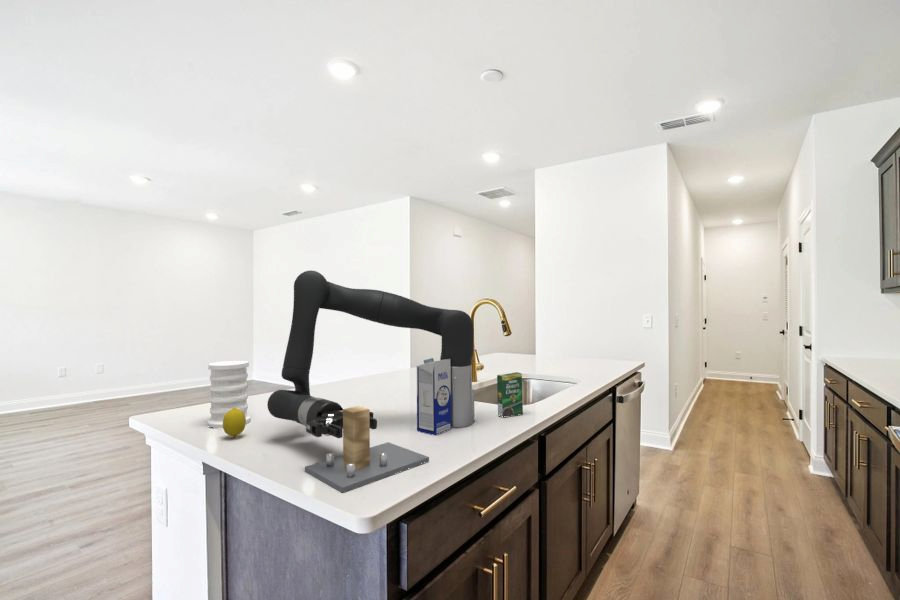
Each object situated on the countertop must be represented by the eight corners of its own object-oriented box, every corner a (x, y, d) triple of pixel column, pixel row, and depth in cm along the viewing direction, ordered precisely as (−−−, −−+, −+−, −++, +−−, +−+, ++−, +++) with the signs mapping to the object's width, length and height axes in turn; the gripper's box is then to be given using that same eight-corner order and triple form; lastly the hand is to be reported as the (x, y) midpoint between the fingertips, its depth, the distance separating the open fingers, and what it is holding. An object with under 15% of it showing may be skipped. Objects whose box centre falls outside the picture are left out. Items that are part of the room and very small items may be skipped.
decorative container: (228, 430, 122) (228, 366, 122) (197, 426, 126) (197, 364, 126) (259, 419, 133) (258, 361, 133) (229, 416, 137) (229, 359, 137)
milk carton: (435, 435, 116) (434, 360, 116) (416, 431, 120) (415, 358, 120) (451, 429, 122) (450, 357, 122) (432, 425, 126) (432, 356, 126)
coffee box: (502, 418, 133) (501, 375, 133) (496, 416, 135) (496, 374, 135) (523, 414, 136) (523, 373, 136) (517, 412, 139) (517, 371, 139)
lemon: (240, 433, 119) (239, 404, 120) (249, 437, 116) (249, 407, 116) (219, 438, 115) (218, 408, 115) (228, 442, 112) (228, 411, 112)
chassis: (388, 446, 108) (388, 432, 108) (429, 461, 97) (429, 445, 97) (304, 471, 92) (304, 454, 92) (342, 492, 81) (342, 474, 81)
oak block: (359, 460, 95) (358, 405, 95) (369, 465, 92) (369, 409, 92) (343, 465, 92) (342, 409, 92) (353, 470, 90) (353, 412, 90)
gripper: (291, 404, 98) (328, 417, 87) (346, 394, 108) (386, 405, 97) (291, 437, 98) (328, 455, 87) (346, 424, 108) (386, 438, 97)
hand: (358, 428), depth 92 cm, fingers open, 8 cm apart
